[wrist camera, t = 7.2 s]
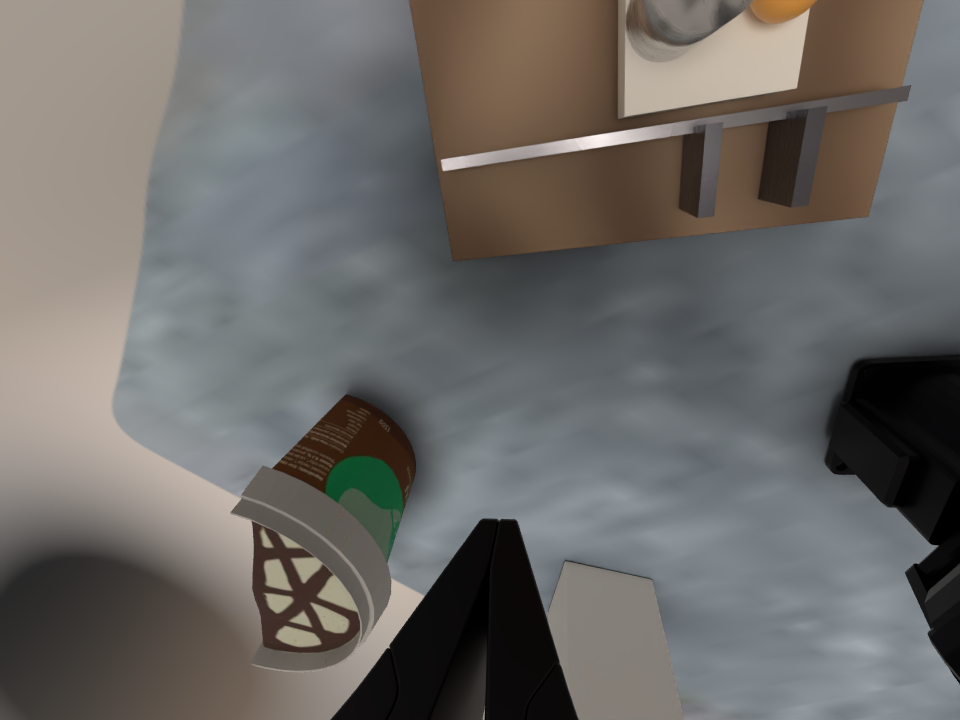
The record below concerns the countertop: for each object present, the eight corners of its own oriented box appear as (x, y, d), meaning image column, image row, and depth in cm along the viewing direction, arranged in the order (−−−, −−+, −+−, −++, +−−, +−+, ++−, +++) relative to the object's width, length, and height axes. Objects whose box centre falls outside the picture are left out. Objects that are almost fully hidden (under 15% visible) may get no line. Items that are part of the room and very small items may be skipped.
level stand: (974, -357, 11) (1180, -604, 7) (843, 211, 17) (920, 228, 13) (392, -166, 14) (338, -272, 10) (459, 253, 20) (439, 276, 16)
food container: (420, 539, 30) (365, 703, 21) (338, 517, 30) (250, 670, 21) (448, 399, 24) (387, 546, 15) (346, 373, 24) (228, 502, 15)
